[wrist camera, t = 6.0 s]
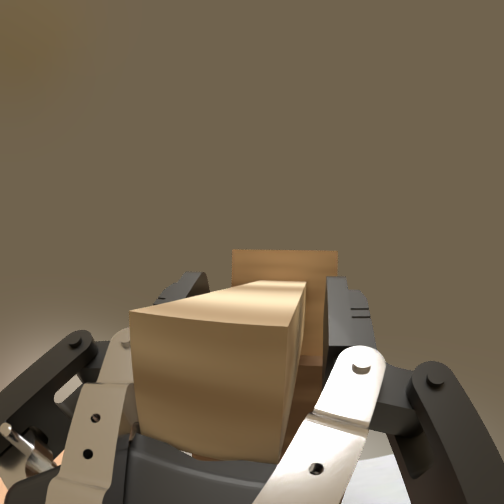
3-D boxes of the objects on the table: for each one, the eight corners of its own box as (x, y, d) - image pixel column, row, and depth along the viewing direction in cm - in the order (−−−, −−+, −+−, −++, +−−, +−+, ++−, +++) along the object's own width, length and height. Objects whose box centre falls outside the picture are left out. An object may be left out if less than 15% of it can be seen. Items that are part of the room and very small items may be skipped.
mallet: (355, 521, 4) (410, 203, 4) (95, 466, 5) (69, 213, 6) (326, 328, 26) (329, 256, 26) (256, 325, 28) (257, 255, 28)
